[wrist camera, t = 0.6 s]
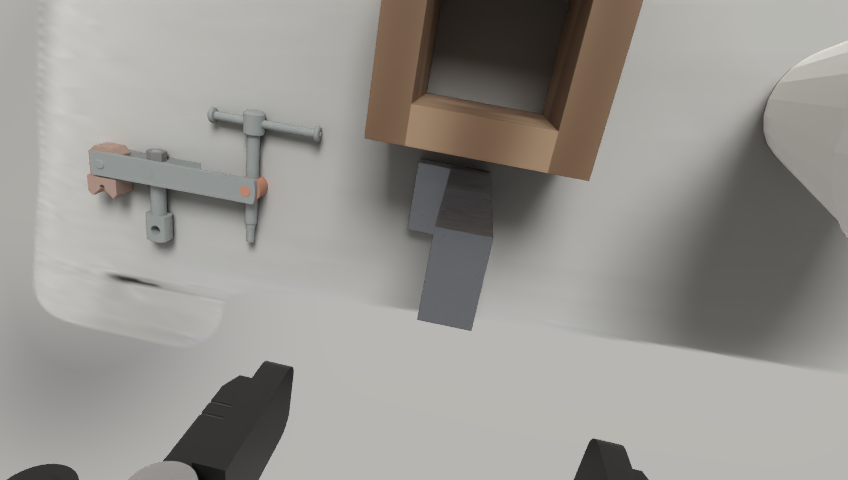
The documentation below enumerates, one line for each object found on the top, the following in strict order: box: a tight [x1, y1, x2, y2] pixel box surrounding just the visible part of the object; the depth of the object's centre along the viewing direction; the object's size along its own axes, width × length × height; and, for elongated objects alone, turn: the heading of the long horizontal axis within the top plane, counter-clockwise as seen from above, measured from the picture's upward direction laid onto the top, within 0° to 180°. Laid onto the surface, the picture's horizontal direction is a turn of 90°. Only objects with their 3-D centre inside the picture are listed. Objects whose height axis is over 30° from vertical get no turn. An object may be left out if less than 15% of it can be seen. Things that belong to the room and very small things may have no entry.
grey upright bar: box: [408, 159, 493, 331], centre depth 26 cm, size 4×4×12 cm
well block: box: [365, 0, 643, 181], centre depth 25 cm, size 11×11×7 cm
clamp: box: [87, 107, 322, 243], centre depth 33 cm, size 15×2×10 cm
